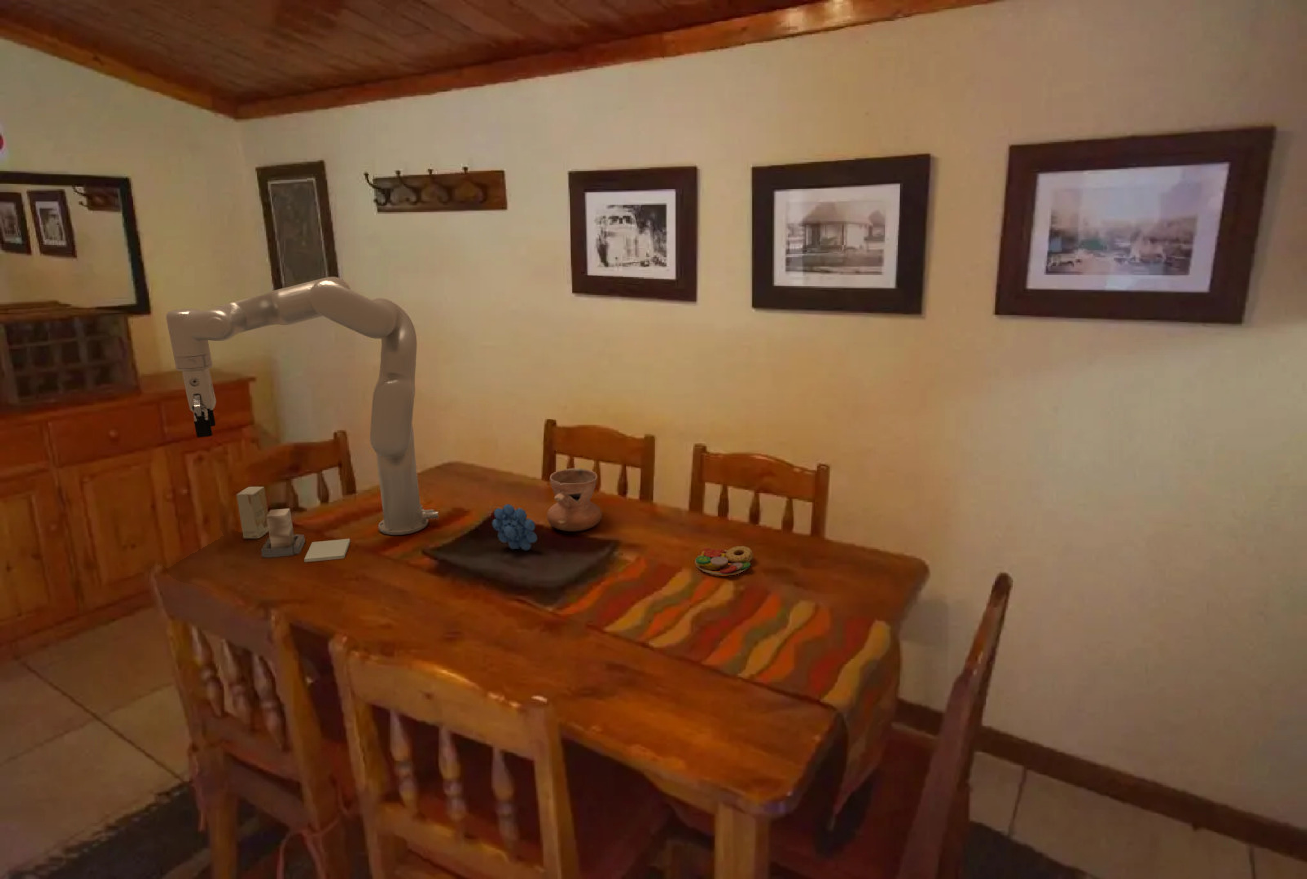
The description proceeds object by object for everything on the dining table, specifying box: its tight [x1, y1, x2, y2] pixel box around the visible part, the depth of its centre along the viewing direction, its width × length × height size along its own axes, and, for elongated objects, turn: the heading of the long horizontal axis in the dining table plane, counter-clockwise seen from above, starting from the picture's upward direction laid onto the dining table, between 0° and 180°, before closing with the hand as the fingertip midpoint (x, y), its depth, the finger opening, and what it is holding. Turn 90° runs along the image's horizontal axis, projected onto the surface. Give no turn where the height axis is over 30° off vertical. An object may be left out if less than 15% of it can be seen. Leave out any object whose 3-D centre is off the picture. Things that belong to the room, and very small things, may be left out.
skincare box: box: [236, 486, 269, 539], centre depth 199 cm, size 6×4×12 cm
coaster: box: [303, 538, 351, 563], centre depth 190 cm, size 9×10×1 cm
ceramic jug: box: [546, 467, 603, 532], centre depth 203 cm, size 18×14×14 cm
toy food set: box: [694, 545, 754, 576], centre depth 180 cm, size 13×13×3 cm
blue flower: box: [491, 503, 538, 551], centre depth 188 cm, size 12×7×12 cm, turn 75°
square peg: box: [266, 508, 295, 548], centre depth 190 cm, size 4×4×10 cm
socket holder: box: [260, 533, 306, 559], centre depth 191 cm, size 8×8×2 cm
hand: (206, 431), depth 186 cm, fingers open, 9 cm apart
